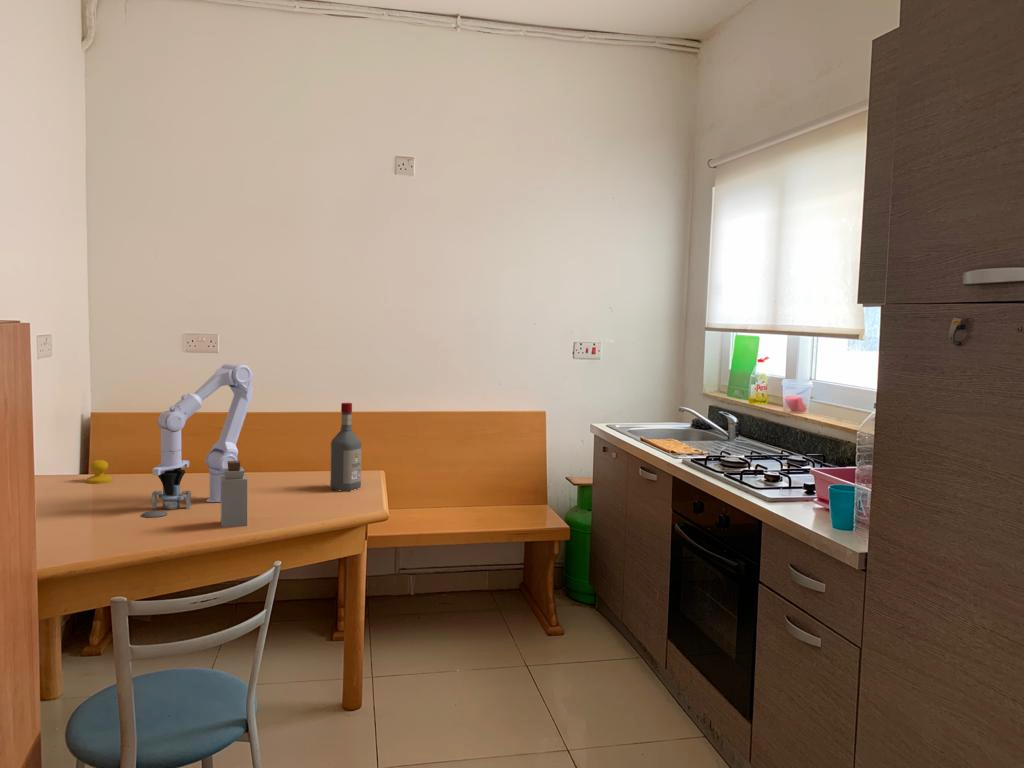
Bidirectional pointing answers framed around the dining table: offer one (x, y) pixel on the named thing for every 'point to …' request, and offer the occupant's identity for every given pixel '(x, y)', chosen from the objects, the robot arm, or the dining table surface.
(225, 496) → the perfume bottle
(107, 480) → the doorknob
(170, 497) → the cap
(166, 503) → the metal ball with blocks
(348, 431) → the liquor
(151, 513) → the pad
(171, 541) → the dining table surface
